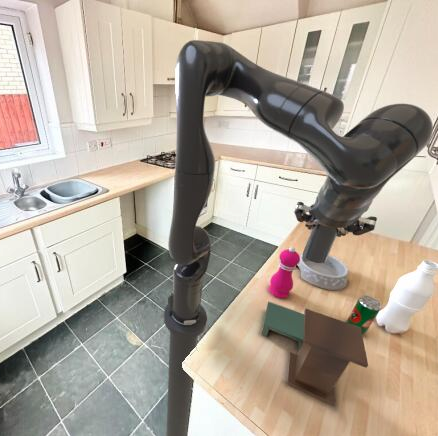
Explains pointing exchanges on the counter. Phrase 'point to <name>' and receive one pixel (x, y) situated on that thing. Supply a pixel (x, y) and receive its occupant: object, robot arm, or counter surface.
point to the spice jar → (320, 243)
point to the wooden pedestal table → (324, 355)
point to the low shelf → (284, 322)
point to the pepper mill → (284, 273)
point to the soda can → (364, 312)
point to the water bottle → (408, 298)
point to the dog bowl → (324, 273)
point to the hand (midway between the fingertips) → (324, 229)
